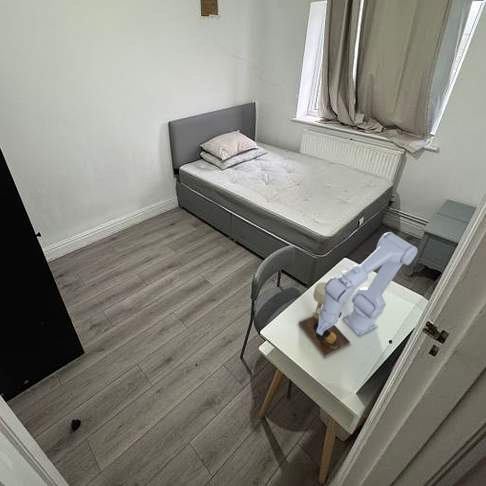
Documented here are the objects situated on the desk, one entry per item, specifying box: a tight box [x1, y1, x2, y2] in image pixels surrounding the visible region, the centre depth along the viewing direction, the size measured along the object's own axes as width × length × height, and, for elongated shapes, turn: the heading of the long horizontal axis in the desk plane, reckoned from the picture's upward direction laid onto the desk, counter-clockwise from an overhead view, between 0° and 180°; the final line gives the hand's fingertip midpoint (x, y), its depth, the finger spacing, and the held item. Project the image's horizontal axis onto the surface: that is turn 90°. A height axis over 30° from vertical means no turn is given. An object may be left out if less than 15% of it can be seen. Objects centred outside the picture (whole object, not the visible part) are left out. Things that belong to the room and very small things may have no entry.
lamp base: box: [298, 315, 351, 358], centre depth 112 cm, size 12×15×4 cm
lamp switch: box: [325, 332, 336, 344], centre depth 108 cm, size 4×4×2 cm
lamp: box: [312, 281, 327, 319], centre depth 112 cm, size 6×6×17 cm
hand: (323, 331), depth 103 cm, fingers open, 7 cm apart
